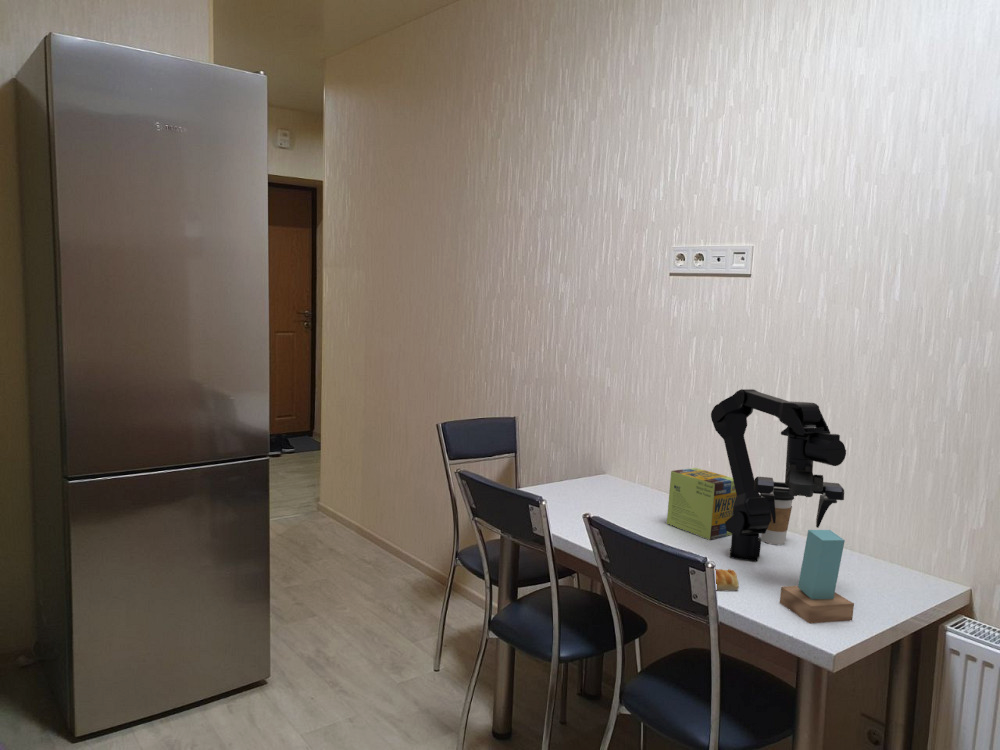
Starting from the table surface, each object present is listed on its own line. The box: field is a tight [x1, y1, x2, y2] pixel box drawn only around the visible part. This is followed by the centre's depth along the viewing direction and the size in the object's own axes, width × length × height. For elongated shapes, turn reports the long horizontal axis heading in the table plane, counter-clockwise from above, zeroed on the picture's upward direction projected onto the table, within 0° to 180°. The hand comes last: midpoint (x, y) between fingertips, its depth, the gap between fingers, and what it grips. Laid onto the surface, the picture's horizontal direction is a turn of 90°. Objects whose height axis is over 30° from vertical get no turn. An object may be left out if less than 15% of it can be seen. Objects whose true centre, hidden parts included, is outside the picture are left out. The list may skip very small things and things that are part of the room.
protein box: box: [666, 467, 737, 541], centre depth 208 cm, size 10×15×16 cm
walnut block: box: [779, 585, 855, 624], centre depth 157 cm, size 10×10×4 cm
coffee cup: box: [760, 486, 795, 546], centre depth 201 cm, size 8×8×15 cm
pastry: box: [715, 568, 740, 591], centre depth 168 cm, size 9×7×4 cm
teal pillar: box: [797, 529, 845, 599], centre depth 155 cm, size 5×5×13 cm
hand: (795, 525), depth 172 cm, fingers open, 9 cm apart
